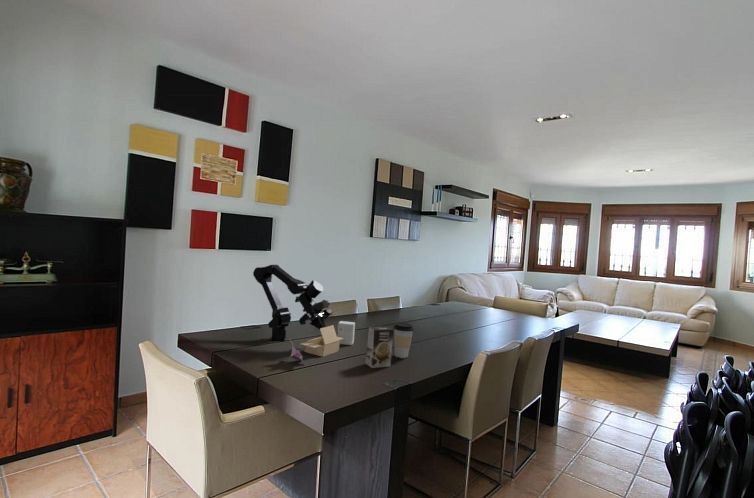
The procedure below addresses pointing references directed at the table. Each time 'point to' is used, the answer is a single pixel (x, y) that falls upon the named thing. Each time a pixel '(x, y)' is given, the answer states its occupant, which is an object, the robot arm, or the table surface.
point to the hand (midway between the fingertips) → (325, 331)
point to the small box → (346, 332)
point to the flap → (328, 334)
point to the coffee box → (379, 347)
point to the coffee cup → (402, 339)
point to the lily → (295, 353)
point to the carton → (321, 346)
